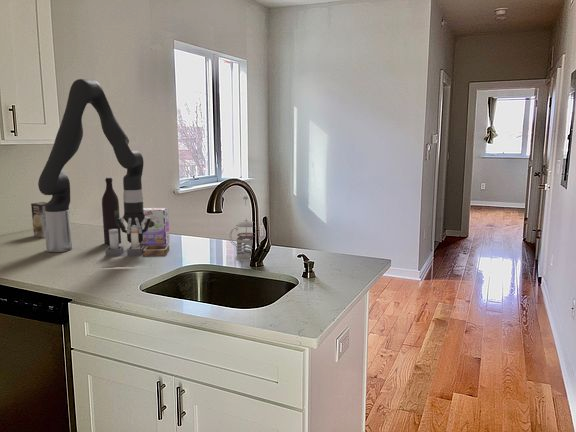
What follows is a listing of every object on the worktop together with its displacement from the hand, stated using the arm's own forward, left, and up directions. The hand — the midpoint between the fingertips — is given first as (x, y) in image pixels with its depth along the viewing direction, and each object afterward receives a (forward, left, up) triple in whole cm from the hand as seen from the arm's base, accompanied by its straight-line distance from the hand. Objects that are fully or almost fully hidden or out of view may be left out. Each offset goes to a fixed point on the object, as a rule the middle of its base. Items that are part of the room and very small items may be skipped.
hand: (135, 242), depth 202 cm
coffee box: (-52, +45, -6) cm, 69 cm away
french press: (+44, -10, -6) cm, 46 cm away
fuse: (-8, 0, -5) cm, 10 cm away
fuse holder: (-4, 0, -5) cm, 7 cm away
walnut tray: (+8, 0, -5) cm, 10 cm away
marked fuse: (0, 0, -3) cm, 3 cm away
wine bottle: (-14, +21, -6) cm, 26 cm away
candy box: (+4, +19, -6) cm, 20 cm away
